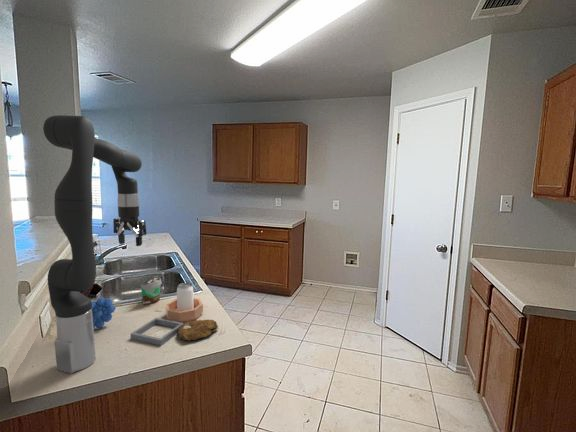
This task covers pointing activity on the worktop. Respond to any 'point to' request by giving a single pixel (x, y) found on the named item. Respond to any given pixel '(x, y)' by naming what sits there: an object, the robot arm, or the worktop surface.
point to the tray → (153, 340)
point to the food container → (151, 291)
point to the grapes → (102, 312)
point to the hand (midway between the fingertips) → (130, 244)
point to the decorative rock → (197, 329)
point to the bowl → (184, 315)
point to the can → (185, 297)
